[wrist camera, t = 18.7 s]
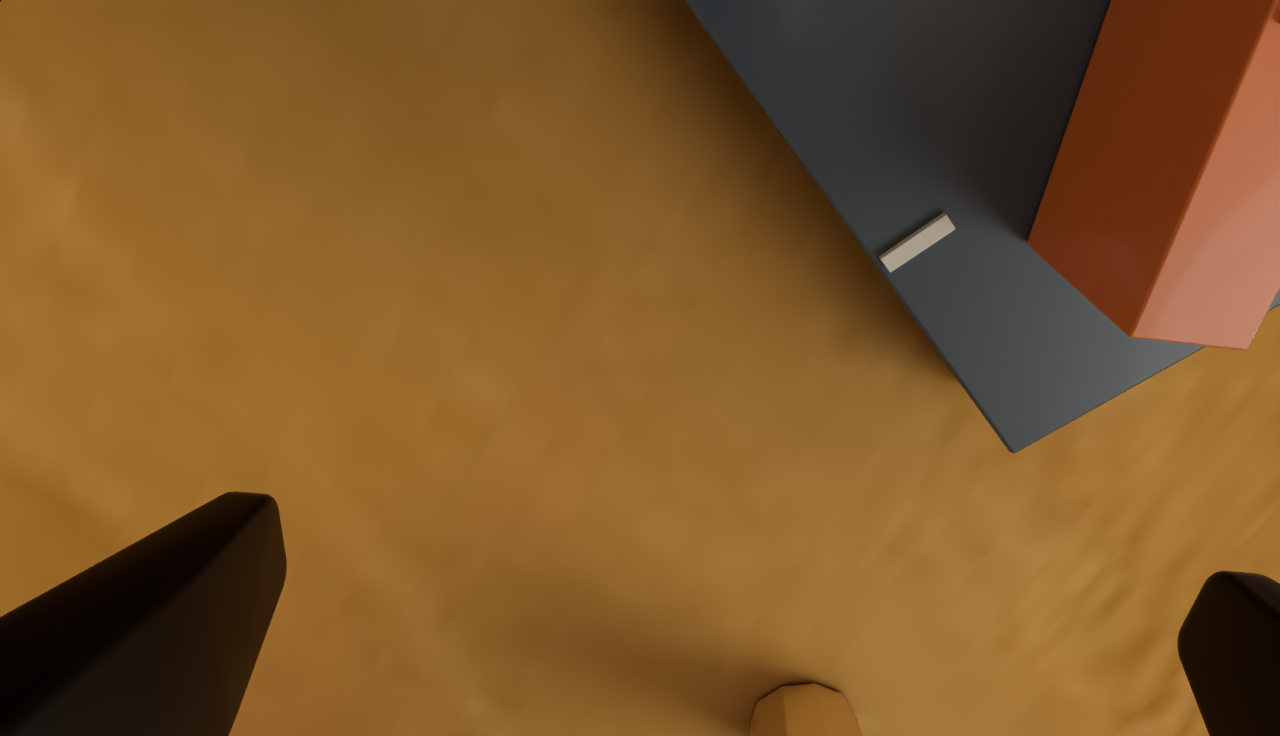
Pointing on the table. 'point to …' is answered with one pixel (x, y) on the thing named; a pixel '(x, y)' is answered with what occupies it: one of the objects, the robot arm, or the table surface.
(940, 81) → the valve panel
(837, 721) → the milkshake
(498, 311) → the table surface
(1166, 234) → the orange block
